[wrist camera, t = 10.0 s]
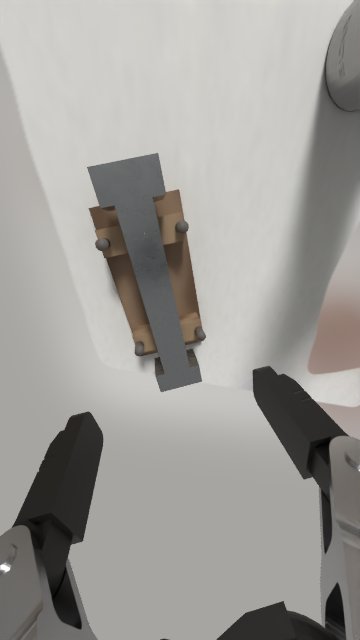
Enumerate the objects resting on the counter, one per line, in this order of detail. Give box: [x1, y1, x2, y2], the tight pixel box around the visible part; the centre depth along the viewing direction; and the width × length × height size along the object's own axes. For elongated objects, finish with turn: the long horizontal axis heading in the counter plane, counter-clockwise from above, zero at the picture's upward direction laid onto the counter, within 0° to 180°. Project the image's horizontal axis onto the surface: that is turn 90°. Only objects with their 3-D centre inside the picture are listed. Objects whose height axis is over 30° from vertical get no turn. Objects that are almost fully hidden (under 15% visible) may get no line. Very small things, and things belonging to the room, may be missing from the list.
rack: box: [89, 190, 206, 356], centre depth 27 cm, size 11×22×6 cm, turn 11°
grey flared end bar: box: [87, 153, 202, 392], centre depth 24 cm, size 6×26×4 cm, turn 11°
